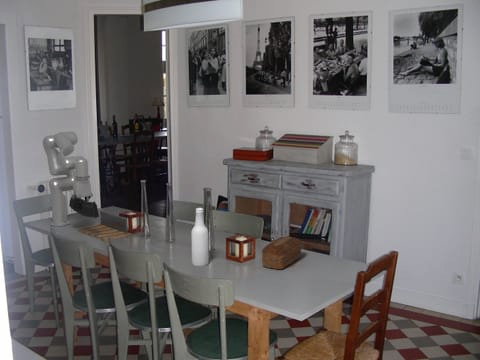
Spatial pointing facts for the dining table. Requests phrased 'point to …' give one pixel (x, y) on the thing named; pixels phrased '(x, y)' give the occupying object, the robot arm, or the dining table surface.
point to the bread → (281, 252)
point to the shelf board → (103, 232)
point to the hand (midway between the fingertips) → (83, 207)
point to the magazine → (85, 208)
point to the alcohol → (199, 240)
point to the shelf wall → (113, 221)
